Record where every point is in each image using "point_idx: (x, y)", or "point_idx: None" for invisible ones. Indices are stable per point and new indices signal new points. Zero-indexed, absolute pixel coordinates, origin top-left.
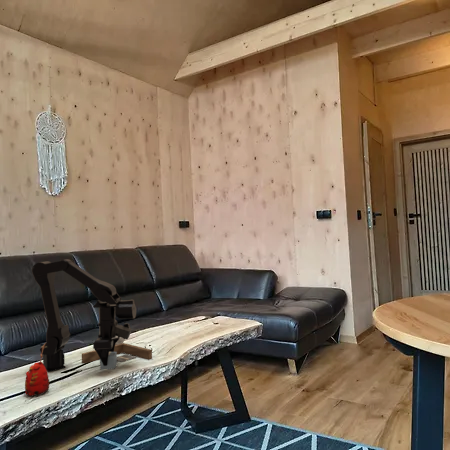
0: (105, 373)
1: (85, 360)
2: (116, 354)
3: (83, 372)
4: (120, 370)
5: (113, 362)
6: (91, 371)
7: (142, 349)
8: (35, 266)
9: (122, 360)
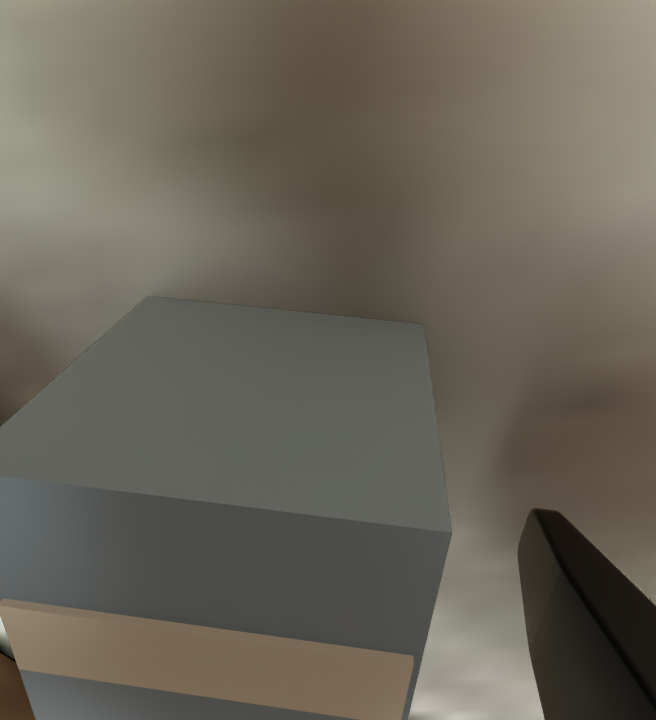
0: (646, 450)
1: (25, 717)
2: (37, 419)
3: (442, 689)
4: (583, 180)
5: (428, 406)
6: (432, 621)
7: None
8: None
9: None
